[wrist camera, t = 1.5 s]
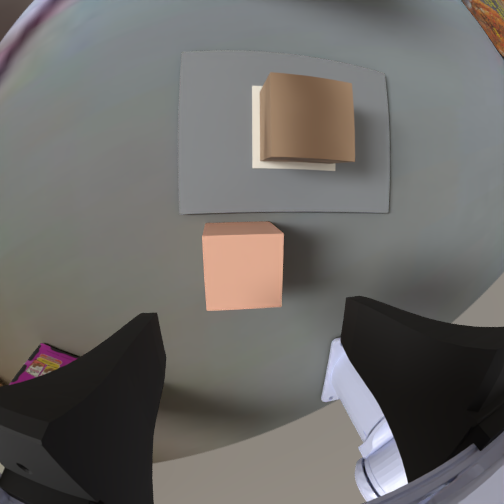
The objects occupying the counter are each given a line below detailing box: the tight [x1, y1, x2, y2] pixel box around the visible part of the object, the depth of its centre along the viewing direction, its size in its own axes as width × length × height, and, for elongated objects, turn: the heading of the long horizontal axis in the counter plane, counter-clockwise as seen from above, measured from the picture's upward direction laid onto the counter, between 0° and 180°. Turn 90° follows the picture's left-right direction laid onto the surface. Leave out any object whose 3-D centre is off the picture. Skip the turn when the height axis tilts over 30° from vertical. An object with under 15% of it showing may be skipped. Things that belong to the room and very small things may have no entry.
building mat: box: [178, 50, 390, 214], centre depth 18 cm, size 16×12×1 cm
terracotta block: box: [202, 221, 284, 311], centre depth 18 cm, size 4×4×4 cm
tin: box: [462, 0, 504, 57], centre depth 12 cm, size 15×3×8 cm, turn 47°
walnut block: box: [260, 72, 355, 164], centre depth 16 cm, size 5×5×4 cm
